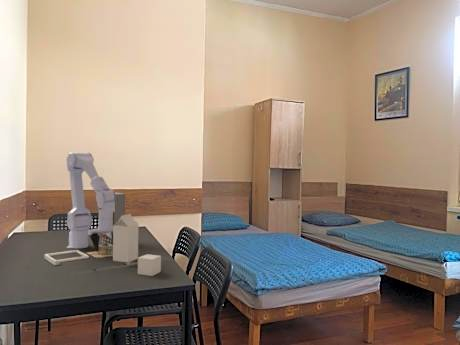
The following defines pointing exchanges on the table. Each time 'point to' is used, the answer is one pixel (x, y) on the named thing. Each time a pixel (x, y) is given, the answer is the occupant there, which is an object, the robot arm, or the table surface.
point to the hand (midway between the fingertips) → (105, 249)
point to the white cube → (149, 264)
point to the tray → (56, 262)
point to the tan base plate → (99, 254)
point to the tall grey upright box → (115, 215)
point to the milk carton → (125, 240)
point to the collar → (105, 249)
